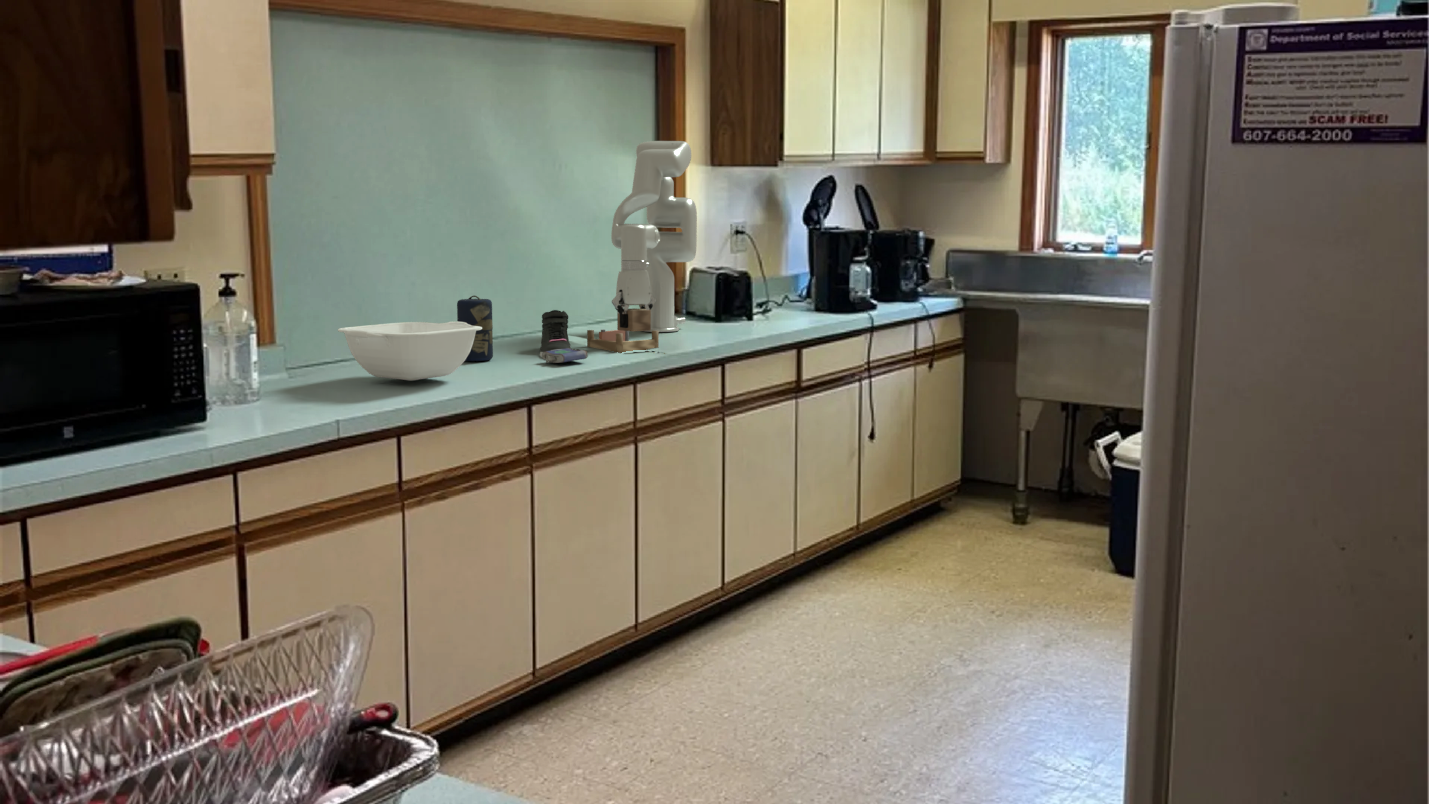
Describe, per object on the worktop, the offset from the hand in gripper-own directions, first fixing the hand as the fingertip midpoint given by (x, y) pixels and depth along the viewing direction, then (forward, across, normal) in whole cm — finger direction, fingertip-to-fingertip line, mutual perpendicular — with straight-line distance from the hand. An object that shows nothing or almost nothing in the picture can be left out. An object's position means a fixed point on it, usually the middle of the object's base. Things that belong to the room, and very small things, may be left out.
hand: (634, 326), depth 407 cm
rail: (+7, -3, -7) cm, 10 cm away
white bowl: (+8, +83, +13) cm, 84 cm away
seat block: (+1, 0, 0) cm, 1 cm away
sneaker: (+8, +27, -3) cm, 28 cm away
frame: (+7, +4, 0) cm, 8 cm away
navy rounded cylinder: (+8, +51, -6) cm, 52 cm away
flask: (+8, +32, +12) cm, 35 cm away
